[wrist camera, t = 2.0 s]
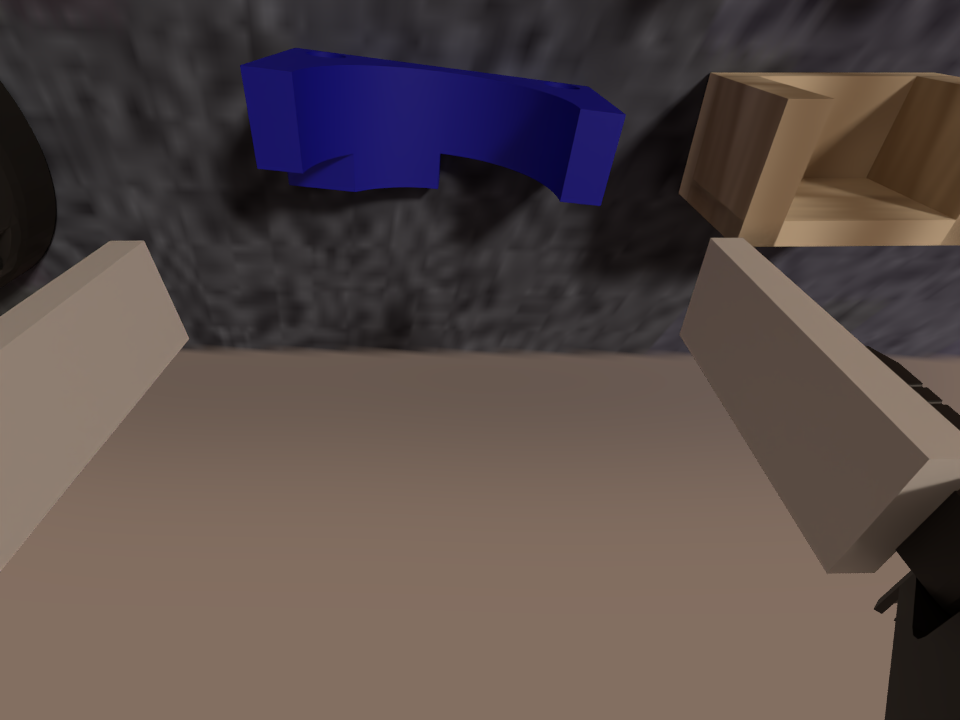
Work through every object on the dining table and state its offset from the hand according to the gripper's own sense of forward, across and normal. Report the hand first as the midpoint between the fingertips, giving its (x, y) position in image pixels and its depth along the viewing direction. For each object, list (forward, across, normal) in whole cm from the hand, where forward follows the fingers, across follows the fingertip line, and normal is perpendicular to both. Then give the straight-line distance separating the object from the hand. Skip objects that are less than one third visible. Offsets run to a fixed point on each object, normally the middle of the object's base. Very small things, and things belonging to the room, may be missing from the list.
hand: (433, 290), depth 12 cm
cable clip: (+13, 0, +1) cm, 13 cm away
